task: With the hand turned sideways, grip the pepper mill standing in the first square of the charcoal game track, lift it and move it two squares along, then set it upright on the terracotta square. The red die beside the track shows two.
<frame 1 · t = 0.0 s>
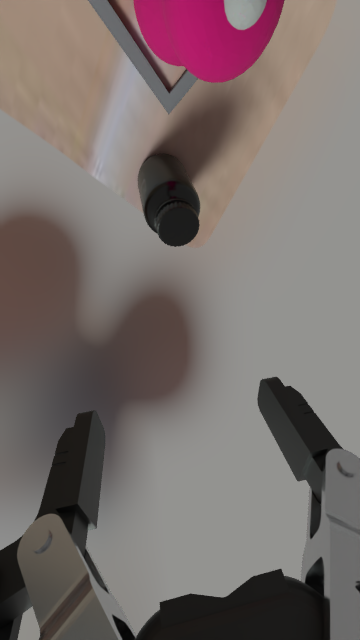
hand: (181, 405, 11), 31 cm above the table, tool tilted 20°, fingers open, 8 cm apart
supplement bottle: (162, 179, 33), on the table
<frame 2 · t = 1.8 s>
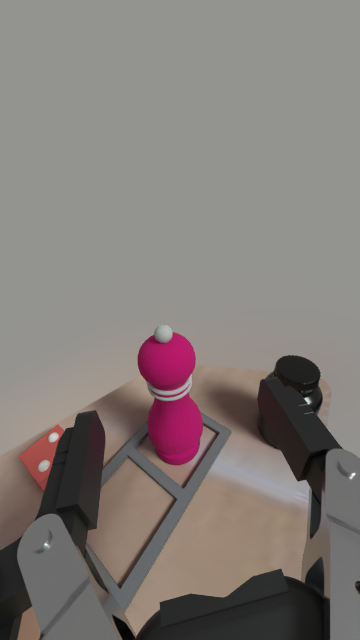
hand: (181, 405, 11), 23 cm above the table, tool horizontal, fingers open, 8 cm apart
die: (63, 471, 31), on the table
game track: (125, 511, 27), on the table
pepper mill: (177, 442, 33), resting in game track
supplement bottle: (280, 429, 34), on the table
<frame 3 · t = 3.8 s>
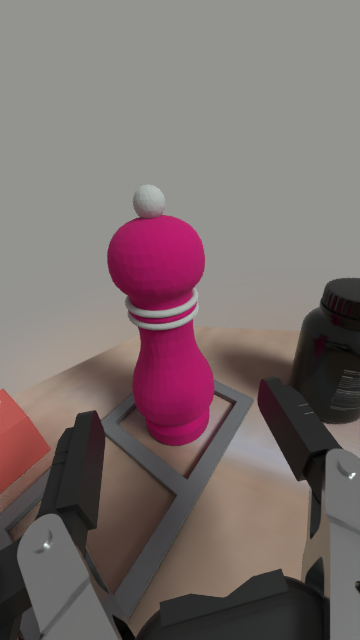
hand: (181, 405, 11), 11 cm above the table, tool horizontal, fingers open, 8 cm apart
die: (10, 456, 21), on the table
game track: (95, 514, 17), on the table
pepper mill: (177, 416, 23), resting in game track
supplement bottle: (322, 397, 24), on the table
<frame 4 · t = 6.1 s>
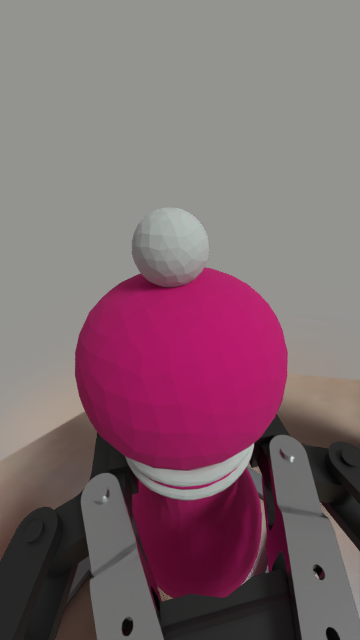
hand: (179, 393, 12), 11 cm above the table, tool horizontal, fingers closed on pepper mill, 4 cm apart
pepper mill: (197, 533, 16), resting in game track, touching gripper
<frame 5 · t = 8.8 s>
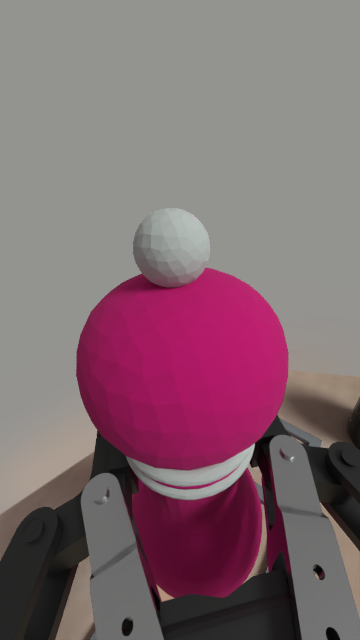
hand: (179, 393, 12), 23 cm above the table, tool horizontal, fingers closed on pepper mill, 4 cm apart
game track: (228, 528, 25), on the table
pepper mill: (198, 533, 16), point 11 cm above the table, touching gripper
when the fingers open (12 cm above the table, at t = 11.7 s): pepper mill moves 3 cm, resting on game track.
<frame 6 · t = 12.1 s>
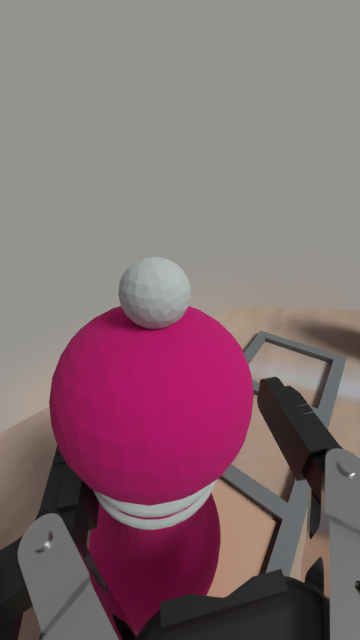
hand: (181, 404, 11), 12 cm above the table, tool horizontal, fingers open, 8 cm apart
game track: (254, 431, 23), on the table
pepper mill: (156, 555, 16), resting on game track, touching gripper
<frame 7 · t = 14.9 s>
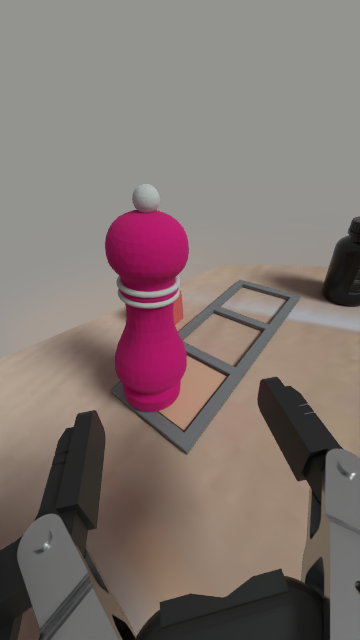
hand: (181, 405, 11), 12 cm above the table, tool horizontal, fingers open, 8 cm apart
die: (161, 320, 37), on the table
game track: (222, 337, 33), on the table
pepper mill: (152, 388, 27), resting on game track
supplement bottle: (343, 296, 39), on the table
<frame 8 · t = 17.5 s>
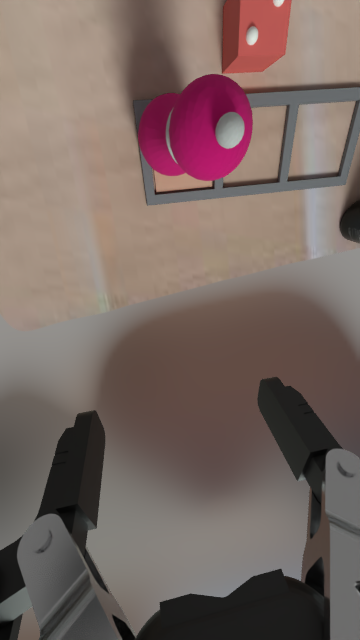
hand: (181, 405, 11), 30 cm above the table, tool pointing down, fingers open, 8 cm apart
die: (244, 41, 26), on the table
game track: (252, 149, 32), on the table
pepper mill: (162, 139, 30), resting on game track
supplement bottle: (356, 218, 40), on the table
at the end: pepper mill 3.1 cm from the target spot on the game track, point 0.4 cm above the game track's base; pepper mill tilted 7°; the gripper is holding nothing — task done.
